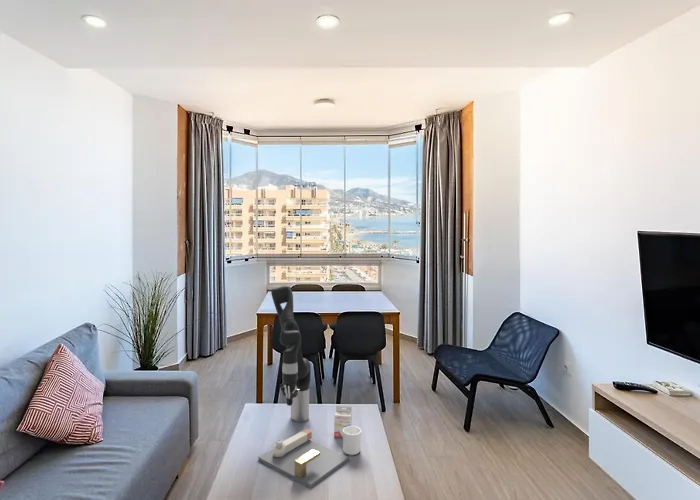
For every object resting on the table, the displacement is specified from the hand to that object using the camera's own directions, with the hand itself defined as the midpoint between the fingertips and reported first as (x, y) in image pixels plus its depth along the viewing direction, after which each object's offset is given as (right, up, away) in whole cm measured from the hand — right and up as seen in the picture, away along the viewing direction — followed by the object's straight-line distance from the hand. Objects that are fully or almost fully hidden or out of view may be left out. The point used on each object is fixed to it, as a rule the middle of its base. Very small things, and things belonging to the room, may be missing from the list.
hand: (289, 404), depth 204 cm
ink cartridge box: (+26, -19, +7) cm, 33 cm away
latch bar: (+2, -17, -8) cm, 19 cm away
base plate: (+9, -19, -16) cm, 27 cm away
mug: (+31, -20, -6) cm, 37 cm away
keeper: (+11, -20, -27) cm, 35 cm away
